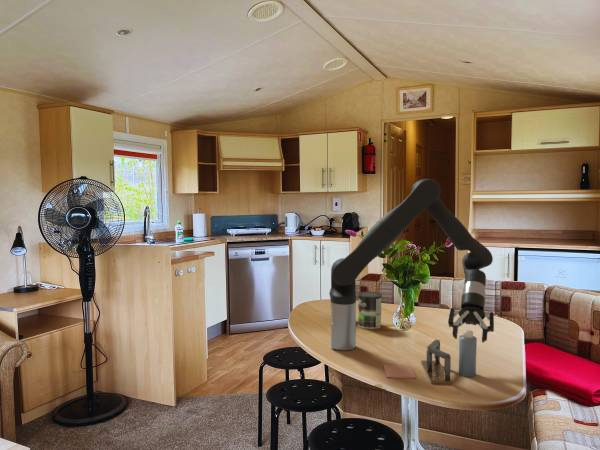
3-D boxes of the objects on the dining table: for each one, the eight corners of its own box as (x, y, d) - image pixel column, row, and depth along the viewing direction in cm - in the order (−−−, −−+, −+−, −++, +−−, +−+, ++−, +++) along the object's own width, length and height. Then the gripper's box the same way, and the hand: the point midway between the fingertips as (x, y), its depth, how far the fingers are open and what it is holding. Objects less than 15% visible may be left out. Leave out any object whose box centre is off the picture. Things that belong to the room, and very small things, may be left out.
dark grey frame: (431, 384, 142) (432, 356, 141) (421, 363, 159) (421, 338, 158) (451, 384, 142) (452, 356, 141) (438, 363, 159) (439, 338, 158)
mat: (387, 377, 147) (387, 376, 147) (383, 365, 157) (383, 364, 157) (415, 378, 146) (416, 377, 146) (410, 366, 156) (410, 365, 156)
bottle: (461, 377, 147) (462, 333, 146) (456, 370, 152) (457, 328, 151) (477, 377, 147) (479, 334, 146) (473, 371, 152) (473, 329, 151)
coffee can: (365, 330, 196) (365, 297, 195) (353, 324, 206) (353, 292, 205) (386, 327, 201) (386, 295, 200) (373, 321, 210) (373, 290, 209)
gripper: (451, 289, 162) (445, 331, 152) (495, 293, 156) (492, 336, 146) (452, 301, 167) (447, 342, 158) (495, 305, 161) (493, 348, 151)
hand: (469, 339), depth 152 cm, fingers open, 8 cm apart
